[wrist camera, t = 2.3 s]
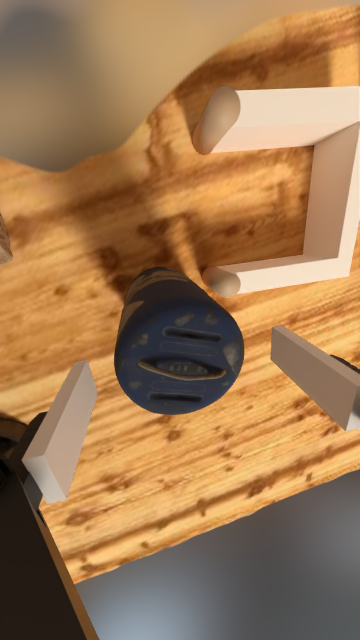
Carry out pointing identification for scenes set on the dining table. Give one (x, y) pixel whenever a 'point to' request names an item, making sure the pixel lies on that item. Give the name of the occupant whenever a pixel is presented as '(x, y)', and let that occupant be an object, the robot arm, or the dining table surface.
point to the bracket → (326, 177)
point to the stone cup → (4, 244)
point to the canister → (175, 344)
